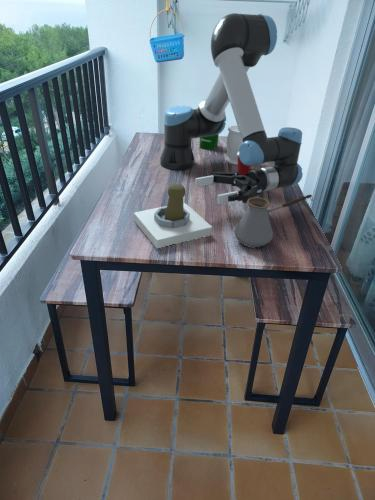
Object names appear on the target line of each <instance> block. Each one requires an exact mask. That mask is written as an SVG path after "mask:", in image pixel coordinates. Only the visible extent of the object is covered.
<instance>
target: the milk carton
mask: <svg viewBox="0 0 375 500" xmlns="http://www.w3.org/2000/svg"><path fill="white" fill-rule="evenodd" d="M219 136H220V134H218V135H215V136H208V137H200V138H199V148H200V149H203V148H204V150H209V149H210V150H211V151H214V150H213V149H214V148H215V149H216V148H217V147H218V143H219Z"/></svg>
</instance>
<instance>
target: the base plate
mask: <svg viewBox="0 0 375 500" xmlns="http://www.w3.org/2000/svg"><path fill="white" fill-rule="evenodd" d="M183 207H184V219H180V220H176V221H169V220H165V219H164V218H165V213H166V209H167V205H165V206H161V207H156V208H155V207H154V208H150V209H145V210H140V211H136V212H133V221H134V222H135V224H136V225H137V226H138V228H139V229H140V230H141V232H143V234H144V235H145V236H146V238H148V240H149V241H150V242H151V244H152V245H153V246H154V248H155V249H156V250H159V249H158V248H160V249H162V248H161V247H164V248H166V247H165V246H168V247H170V246H169V245H172V244H176V245H178V244H177V243H180V244H182V243H181V242H184V243H186V242H185V241H187V242H190V241H189V240H191V241H194V240H193V239H195V240H197V239H196V238H199V239H201V238H200V237H203V238H205V237H204V236H207V237H210V236H209V235H211V236H212V233H213V226H212V225H210V223H208V222H207V221H206V220H205V219H204V218H203V217H202V216H200V215H199V213H197V212H196V211H195V210H194V209H193V208H191V207H190V206H189V205H188V204H187V203H185V202H183ZM172 246H173V245H172Z"/></svg>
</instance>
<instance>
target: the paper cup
mask: <svg viewBox="0 0 375 500" xmlns="http://www.w3.org/2000/svg"><path fill="white" fill-rule="evenodd" d="M237 155H238V162H237V165H236V166H237V167H236V172H239V175H240V176H241V175H244V176H245V175H246V174H247V173H248V172H249V171H251V170H255V167H256V165H251V166H247V165H244V164H243V163H242V162H241V160H240V158H239V151H238V153H237ZM237 188H238V189H239V187H237Z"/></svg>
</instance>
